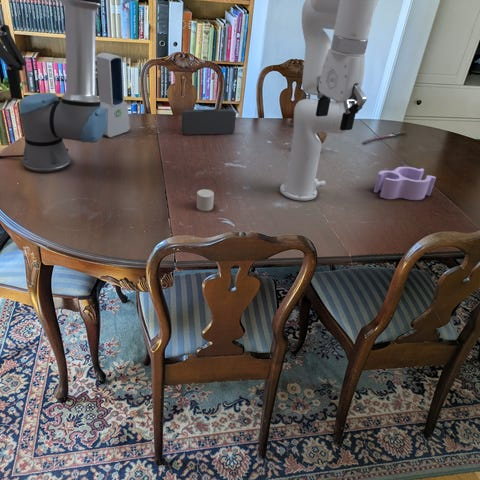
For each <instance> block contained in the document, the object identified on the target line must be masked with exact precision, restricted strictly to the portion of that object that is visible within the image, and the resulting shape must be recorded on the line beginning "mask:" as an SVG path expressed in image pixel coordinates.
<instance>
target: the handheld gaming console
mask: <svg viewBox="0 0 480 480" xmlns="http://www.w3.org/2000/svg"><path fill="white" fill-rule="evenodd" d="M236 119H237V112H236V111H235V109H229V108H227V109H226V108H206V109H205V108H199V109H195V108H194V109H184V110H183V111H182V112H181V130H180V131H181V132H182V133H183V135H222V134H224V135H226V134H234V132H236Z"/></svg>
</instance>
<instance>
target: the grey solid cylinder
mask: <svg viewBox="0 0 480 480" xmlns="http://www.w3.org/2000/svg"><path fill="white" fill-rule="evenodd" d="M214 196H215V192H214V191H213V190H212V189H207V188H205V189H204V188H203V189H199V190H198V191H196V209H198V210H199V211H203V212H209V211H212V210H213V209H214V202H215V201H214V200H215V199H214V198H215V197H214Z"/></svg>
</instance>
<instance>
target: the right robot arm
mask: <svg viewBox="0 0 480 480" xmlns="http://www.w3.org/2000/svg"><path fill="white" fill-rule="evenodd" d="M378 1H379V0H305V1H304V2H303V5H302V10H301V29H302V35H303V40H304V44H305V45H304V47H305V48H304V50H305V51H304V61H303V65H304V68H303V70H302V80H301V86H302V90H304V92H303V93H306V94H307V95H308V94H310V96H311V95H312V96H317V97H316V98H317V99H315V98H310V99H307V98H302V99H301V101H299V100H298V102H296V104H295V106H294V109H293V117H294V122H293V132H292V140H291V147H290V153H289V154H290V155H289V160H288V165H287V173H286V180H285V182H283V183H282V184H281V185H280V188H279V191H280V193H281V194H282V195H283V196H284V197H287V198H288V199H290V200H294V201H301V202H302V201H306V202H307V201H311V200H313V199H315V198H317V195H318V190H317V189H318V188H319V187H325V186H326V185H327V184H326V181H325V180H324V179H322V180H319V178H316V177H317V173H318V172H317V171H318V168H319V162H320V157H321V153H322V144H321V141H320V139H319V137H318V136H317V134H316V133H318V132H326V133H327V134H340V135H341V134H344V133H346V132H347V131H351V130H353V127H354V123H355V118H356V114H358V113H359V111H360V110H362V109H363V106H364V105H365V103H366V102H367V100H368V99H367V96H366V95H365V93H364V91H363V89H362V87H363V83H364V82H363V81H364V77H365V65H366V53H367V52H366V51H367V46H368V43H369V38H370V34H371V29H372V25H373V21H374V16H375V12H376V7H377V5H378ZM326 30H333V35H332V40H331V38H330V36H329V35H328V33H327V32H326Z"/></svg>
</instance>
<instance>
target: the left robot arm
mask: <svg viewBox="0 0 480 480" xmlns="http://www.w3.org/2000/svg"><path fill="white" fill-rule="evenodd" d="M59 1H60V3H62V5H63V7H64V29H65V30H64V32H65V36H64V37H65V75H66V78H65V79H66V80H65V81H66V85H65V86H66V91H65V93H64V94H63V95H62V96H61V100H59V97H58V95H57V94H56V93H52V92H43V93H41V92H40V93H34V94H30V95H26V96H24V97H23V93H22V89H21V88H22V87H21V84H22V78H21V71H24V67H25V66H26V65H27V61H26V60H25V58H24V56H23V55H22V52H21V51H20V49H19V47H18V45H17V44H16V43H17V42H16V41H15V40H14V38H13V36H12V34H11V29H10V26H9V25H8V24H3V23H0V60H1V61H2V62H3V63H4V64H5V65H6V66H7V67H8V68H7V69H6V75H7V82H8V88H9V94H10V98H12V99H15V100H19V103H18V104H19V114H20V120H21V126H22V132H23V137H24V148H23V153H22V154H12V155H11V154H10V155H0V159H7V158H21V159H22V160H21V161H22V166H23V168H24V169H25V170H27V171H29V172H33V173H39V174H46V173H56V172H61V171H63V170H66V169H67V168H69V167H70V166H71V163H72V159H71V155H70V153H69V148H68V147H66V145H65V143H64V140H70V141H75V142H81V143H91V144H92V143H93V144H94V143H97V142H99V141H100V140H101V139H102V137H104V135H103V134H104V132H105V129H106V125H107V113H106V112H107V111H106V109H105V108H103V107H102V106H100V99H99V96H97V94H96V30H97V29H96V25H97V24H96V22H97V21H96V18H97V17H96V13H97V12H96V11H97V10H98V9H99V8H100V7H101V6H102V0H59Z"/></svg>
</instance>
